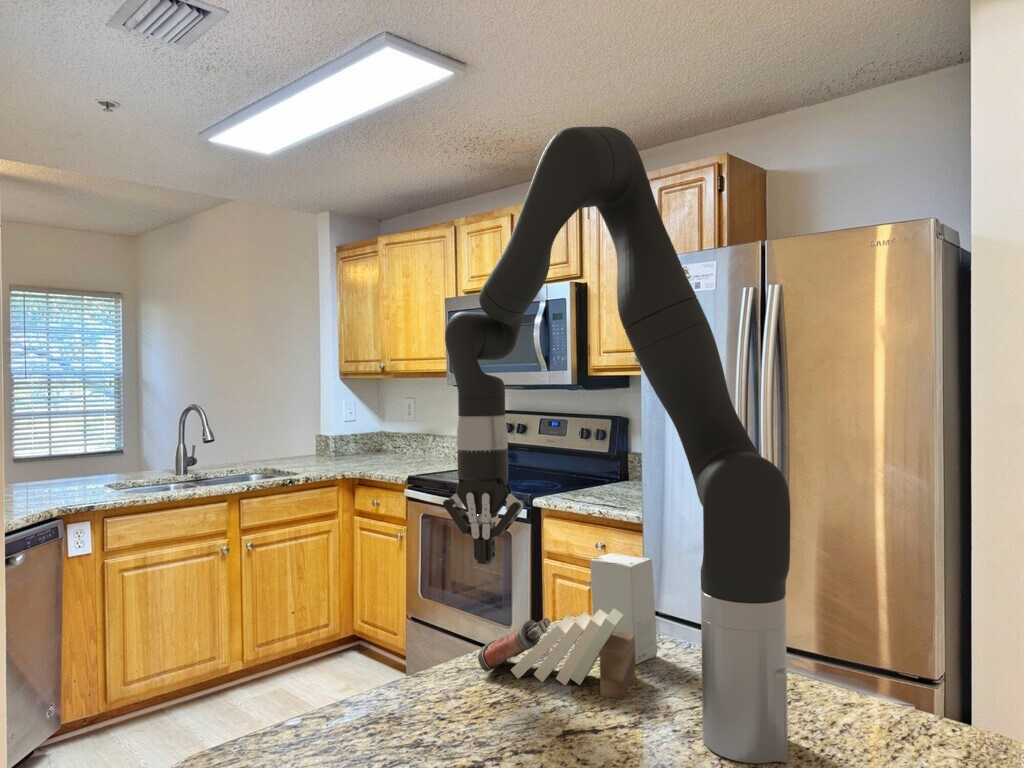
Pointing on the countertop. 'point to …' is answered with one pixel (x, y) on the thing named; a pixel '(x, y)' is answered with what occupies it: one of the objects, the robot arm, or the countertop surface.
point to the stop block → (617, 665)
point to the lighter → (512, 644)
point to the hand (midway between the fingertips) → (484, 563)
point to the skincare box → (627, 598)
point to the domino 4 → (596, 646)
